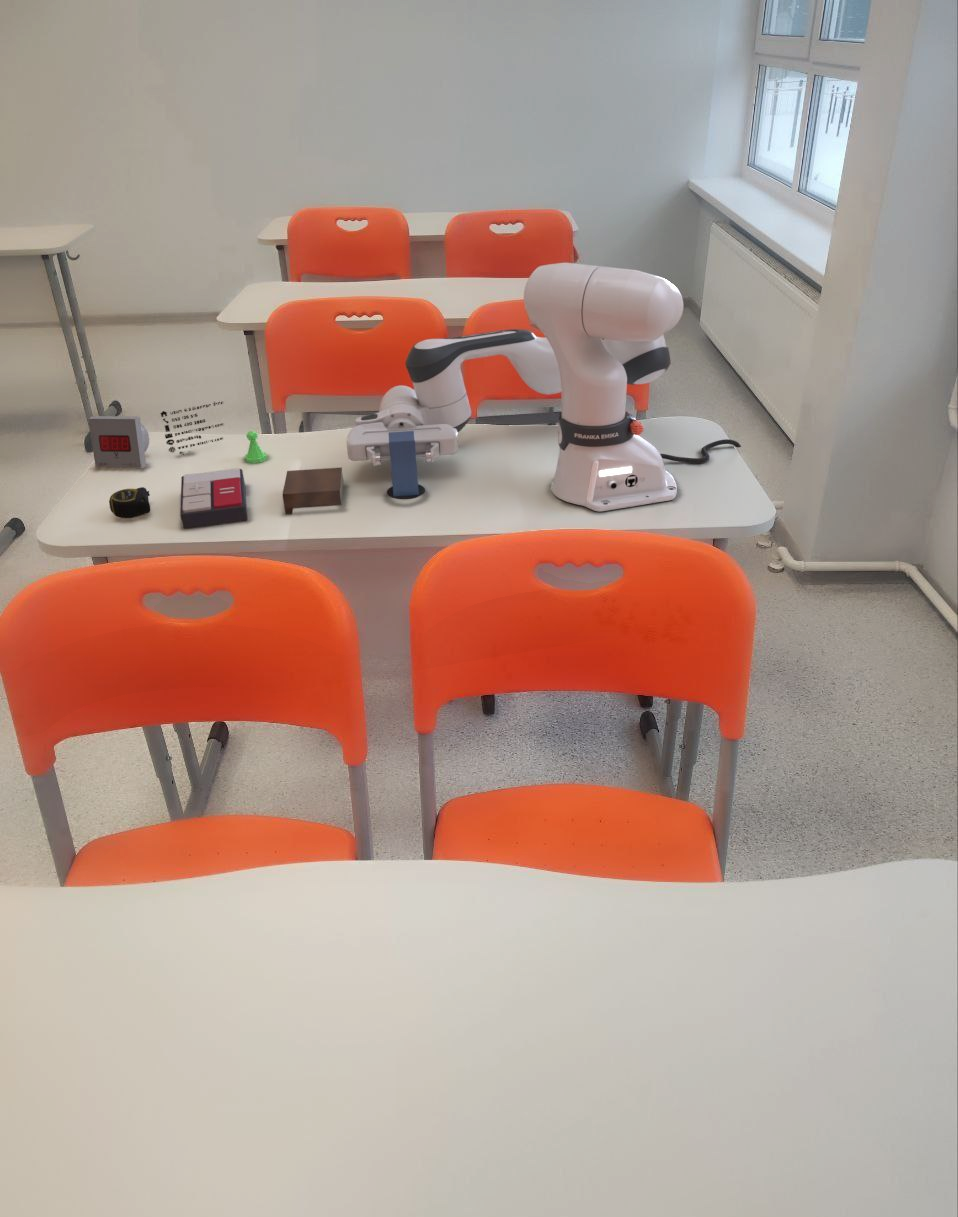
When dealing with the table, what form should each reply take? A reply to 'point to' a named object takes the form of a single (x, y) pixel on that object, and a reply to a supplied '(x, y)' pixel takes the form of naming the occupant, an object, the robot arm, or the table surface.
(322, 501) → the stand
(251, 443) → the game piece
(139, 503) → the tape measure
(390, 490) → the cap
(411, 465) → the block
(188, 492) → the calculator
